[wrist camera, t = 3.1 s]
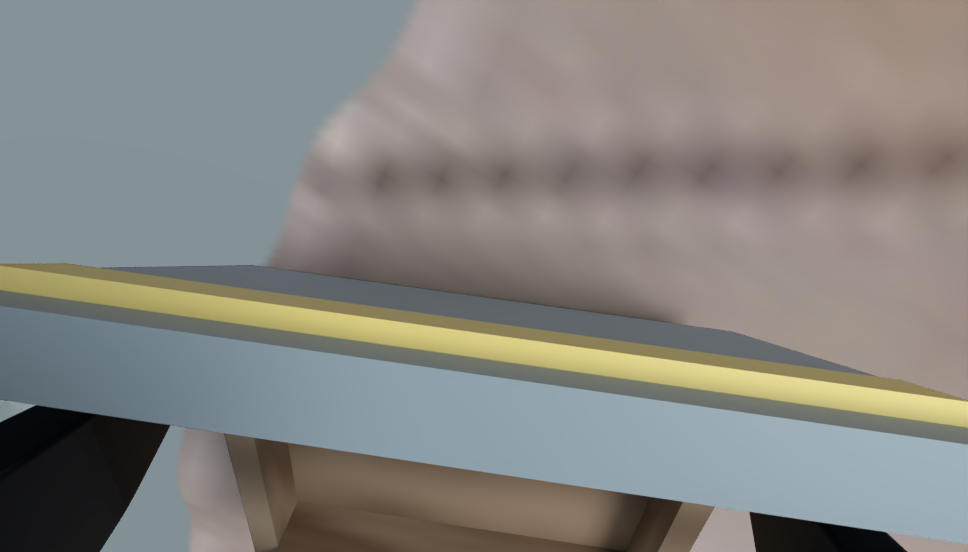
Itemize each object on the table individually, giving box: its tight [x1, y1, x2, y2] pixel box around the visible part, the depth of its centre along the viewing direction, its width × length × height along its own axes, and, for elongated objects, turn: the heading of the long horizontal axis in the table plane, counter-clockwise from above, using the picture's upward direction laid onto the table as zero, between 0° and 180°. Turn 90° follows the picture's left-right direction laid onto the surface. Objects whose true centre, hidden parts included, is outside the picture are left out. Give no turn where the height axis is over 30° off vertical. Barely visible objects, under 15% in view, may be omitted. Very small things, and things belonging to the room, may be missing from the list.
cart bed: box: [224, 433, 715, 552], centre depth 19 cm, size 11×16×6 cm
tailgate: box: [0, 264, 968, 544], centre depth 11 cm, size 1×15×11 cm
